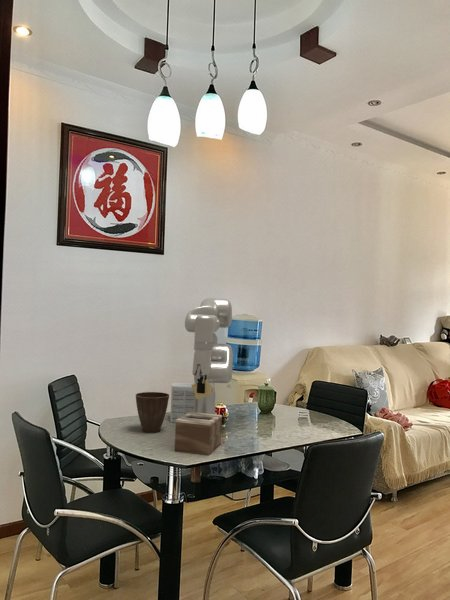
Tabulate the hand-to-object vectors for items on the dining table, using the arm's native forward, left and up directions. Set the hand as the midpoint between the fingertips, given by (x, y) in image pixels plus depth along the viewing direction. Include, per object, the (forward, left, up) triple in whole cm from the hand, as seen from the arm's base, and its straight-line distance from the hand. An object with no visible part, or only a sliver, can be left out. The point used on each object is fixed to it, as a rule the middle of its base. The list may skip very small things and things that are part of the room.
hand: (201, 392), depth 204 cm
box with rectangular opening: (0, 0, -22) cm, 22 cm away
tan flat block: (0, +3, +3) cm, 4 cm away
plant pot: (-17, -28, -22) cm, 40 cm away
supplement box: (-43, -22, -22) cm, 53 cm away
